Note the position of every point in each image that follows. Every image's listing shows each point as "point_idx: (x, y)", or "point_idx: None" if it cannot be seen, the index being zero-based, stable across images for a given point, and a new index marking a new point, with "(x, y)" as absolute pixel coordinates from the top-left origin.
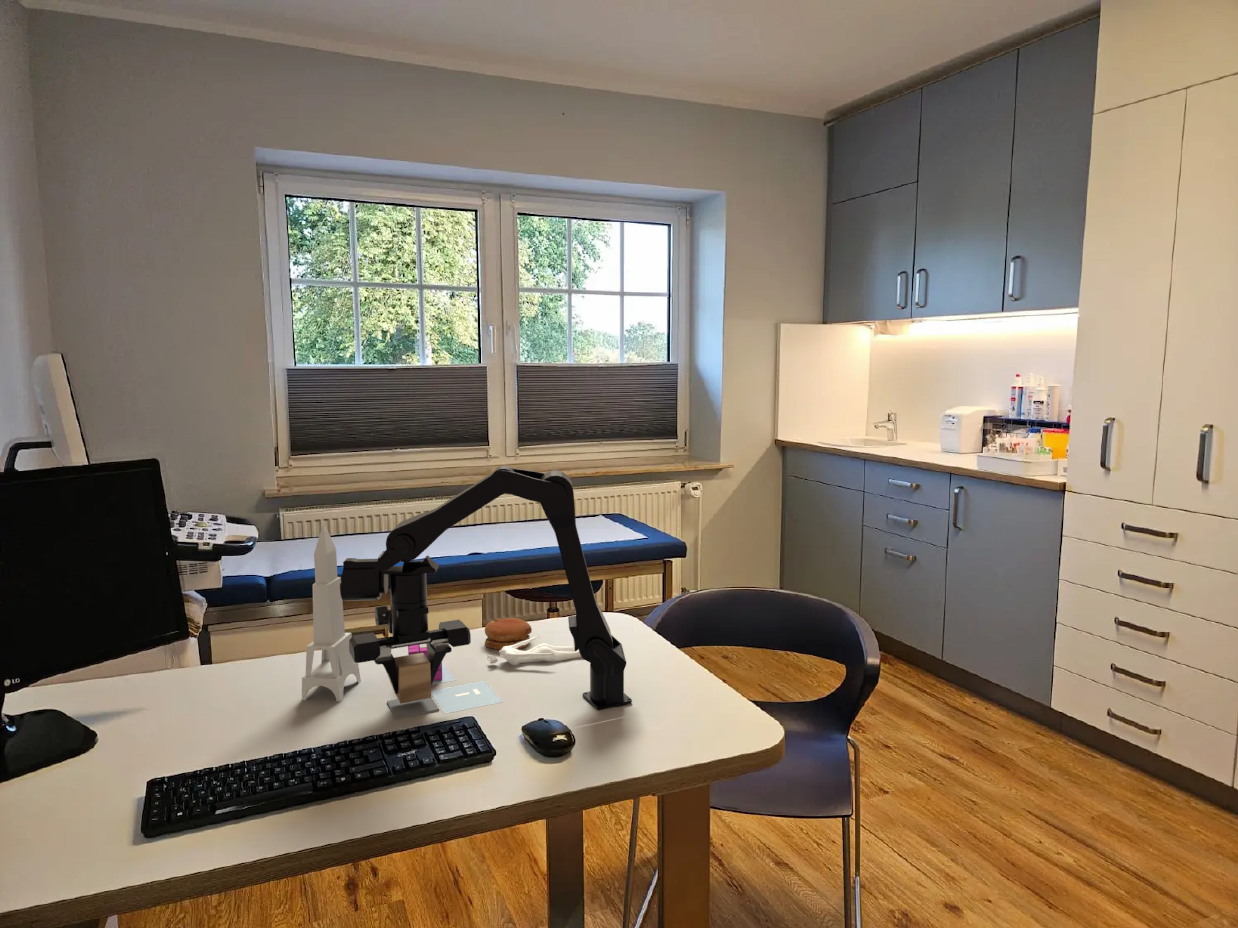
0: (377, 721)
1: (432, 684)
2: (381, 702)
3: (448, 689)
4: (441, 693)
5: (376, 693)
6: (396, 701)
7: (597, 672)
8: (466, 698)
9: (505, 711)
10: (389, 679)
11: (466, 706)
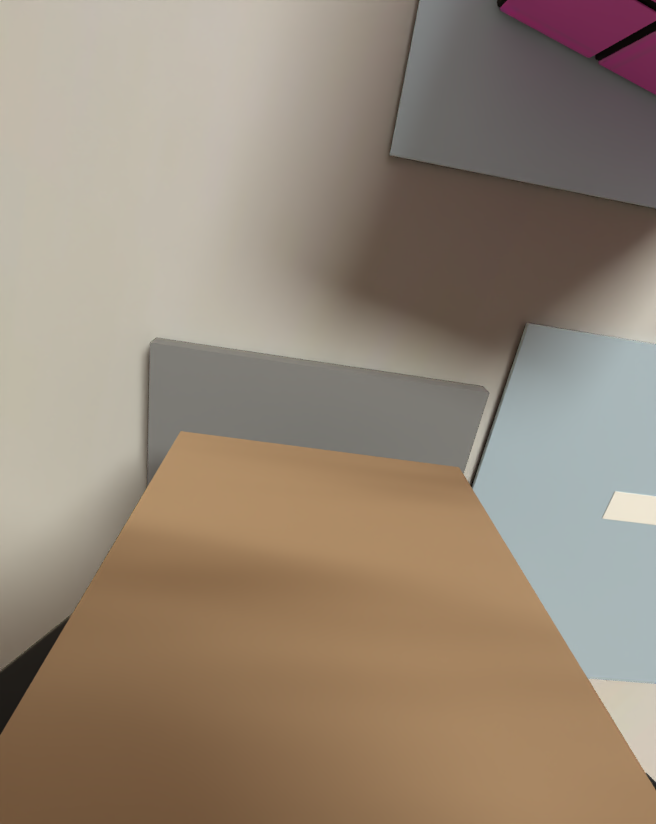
0: (38, 561)
1: (630, 202)
2: (117, 292)
3: (648, 383)
4: (565, 421)
5: (110, 36)
6: (216, 397)
7: None
8: (625, 570)
9: (649, 752)
10: (27, 654)
11: None
